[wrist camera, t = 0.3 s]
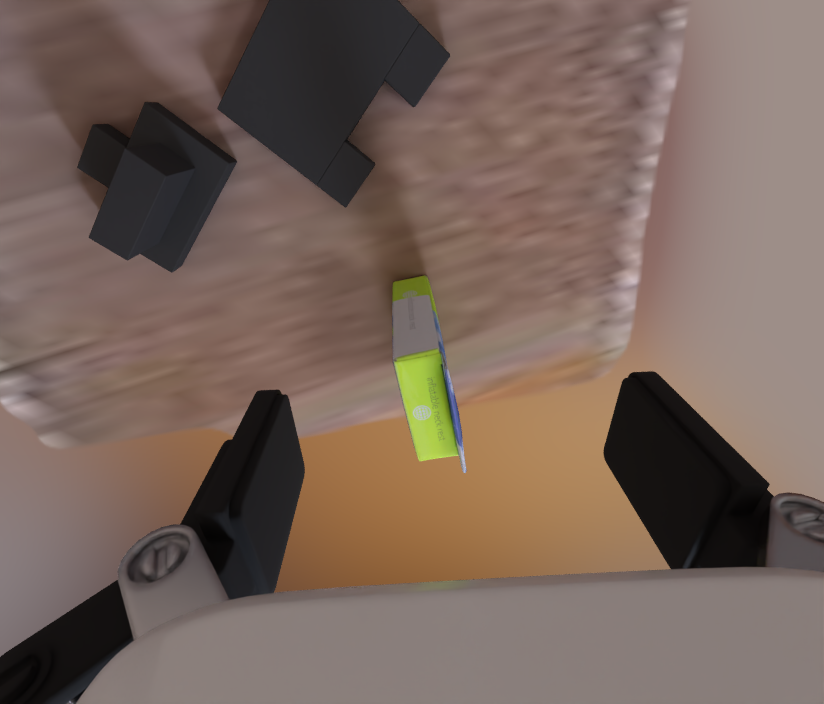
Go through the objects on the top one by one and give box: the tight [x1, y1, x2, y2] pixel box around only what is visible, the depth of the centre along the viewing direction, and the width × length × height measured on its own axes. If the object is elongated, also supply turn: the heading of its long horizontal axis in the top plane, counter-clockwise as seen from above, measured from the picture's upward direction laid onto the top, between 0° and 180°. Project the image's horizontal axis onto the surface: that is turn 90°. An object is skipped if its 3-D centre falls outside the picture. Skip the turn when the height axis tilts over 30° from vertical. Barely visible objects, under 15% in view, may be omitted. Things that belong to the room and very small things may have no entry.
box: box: [392, 276, 466, 473], centre depth 36 cm, size 10×4×17 cm, turn 12°
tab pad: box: [77, 102, 237, 272], centre depth 33 cm, size 12×10×7 cm
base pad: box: [218, 0, 450, 207], centre depth 32 cm, size 14×12×2 cm
